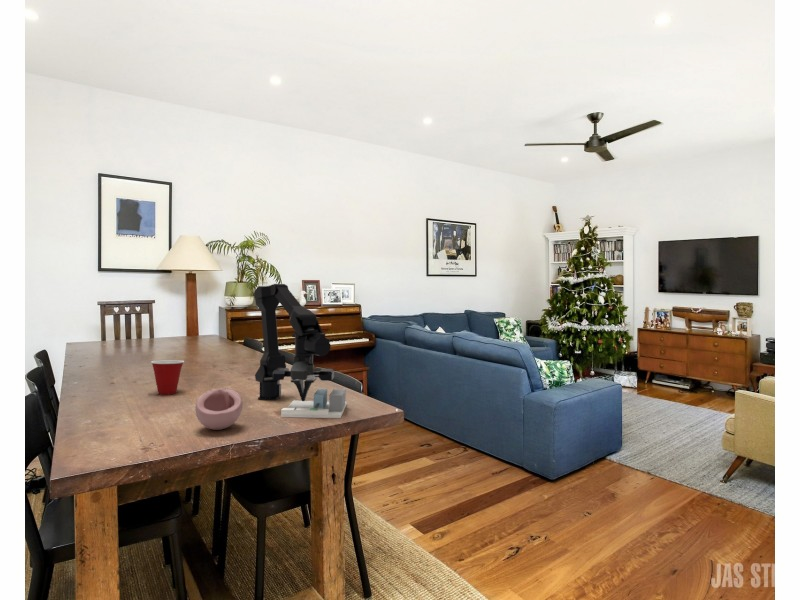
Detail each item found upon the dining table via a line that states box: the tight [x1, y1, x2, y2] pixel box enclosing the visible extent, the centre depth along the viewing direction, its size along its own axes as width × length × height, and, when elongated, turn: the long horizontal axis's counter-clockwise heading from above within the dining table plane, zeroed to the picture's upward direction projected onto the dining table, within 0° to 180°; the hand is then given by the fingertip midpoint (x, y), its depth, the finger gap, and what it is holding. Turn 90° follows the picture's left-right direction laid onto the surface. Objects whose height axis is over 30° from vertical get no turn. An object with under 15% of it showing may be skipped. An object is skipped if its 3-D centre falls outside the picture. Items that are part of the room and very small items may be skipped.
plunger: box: [313, 388, 328, 409], centre depth 143 cm, size 3×12×5 cm, turn 0°
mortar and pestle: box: [194, 387, 243, 431], centre depth 125 cm, size 12×12×11 cm
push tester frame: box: [280, 388, 348, 419], centre depth 145 cm, size 18×16×6 cm
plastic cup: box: [150, 359, 185, 396], centre depth 164 cm, size 11×11×12 cm
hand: (303, 400), depth 145 cm, fingers closed
